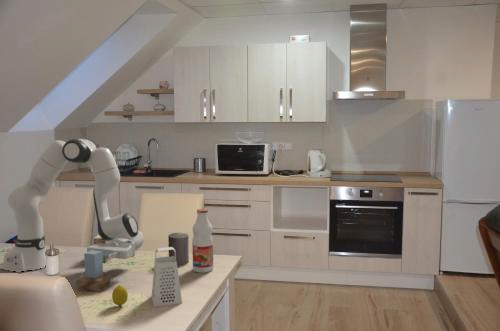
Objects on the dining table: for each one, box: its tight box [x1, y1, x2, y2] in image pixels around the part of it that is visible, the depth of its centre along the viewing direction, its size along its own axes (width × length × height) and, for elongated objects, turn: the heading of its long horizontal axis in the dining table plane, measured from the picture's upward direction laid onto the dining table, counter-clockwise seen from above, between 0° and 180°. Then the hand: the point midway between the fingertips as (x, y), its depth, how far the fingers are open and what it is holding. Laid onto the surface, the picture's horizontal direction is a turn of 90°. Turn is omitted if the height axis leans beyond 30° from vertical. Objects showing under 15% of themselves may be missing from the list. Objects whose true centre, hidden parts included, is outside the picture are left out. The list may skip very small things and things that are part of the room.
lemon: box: [111, 284, 129, 307], centre depth 173 cm, size 6×6×8 cm
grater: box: [151, 246, 183, 307], centre depth 178 cm, size 10×10×20 cm
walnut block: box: [76, 271, 110, 293], centre depth 193 cm, size 10×10×5 cm
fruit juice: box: [191, 208, 214, 274], centre depth 213 cm, size 9×9×28 cm
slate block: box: [83, 250, 104, 279], centre depth 193 cm, size 5×5×10 cm
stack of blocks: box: [93, 234, 111, 263], centre depth 237 cm, size 21×6×12 cm, turn 177°
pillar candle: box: [167, 232, 190, 267], centre depth 225 cm, size 10×10×15 cm
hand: (98, 256), depth 195 cm, fingers open, 8 cm apart
